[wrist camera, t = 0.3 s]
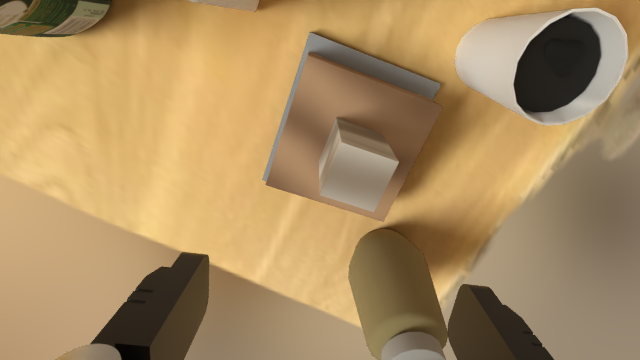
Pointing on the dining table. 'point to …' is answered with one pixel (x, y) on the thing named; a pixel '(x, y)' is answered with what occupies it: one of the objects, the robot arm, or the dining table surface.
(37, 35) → the coffee jar
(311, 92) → the tan plate with knob
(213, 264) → the dining table surface
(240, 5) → the milk carton
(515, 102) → the white cup
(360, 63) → the rubber mat
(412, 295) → the squeeze bottle
